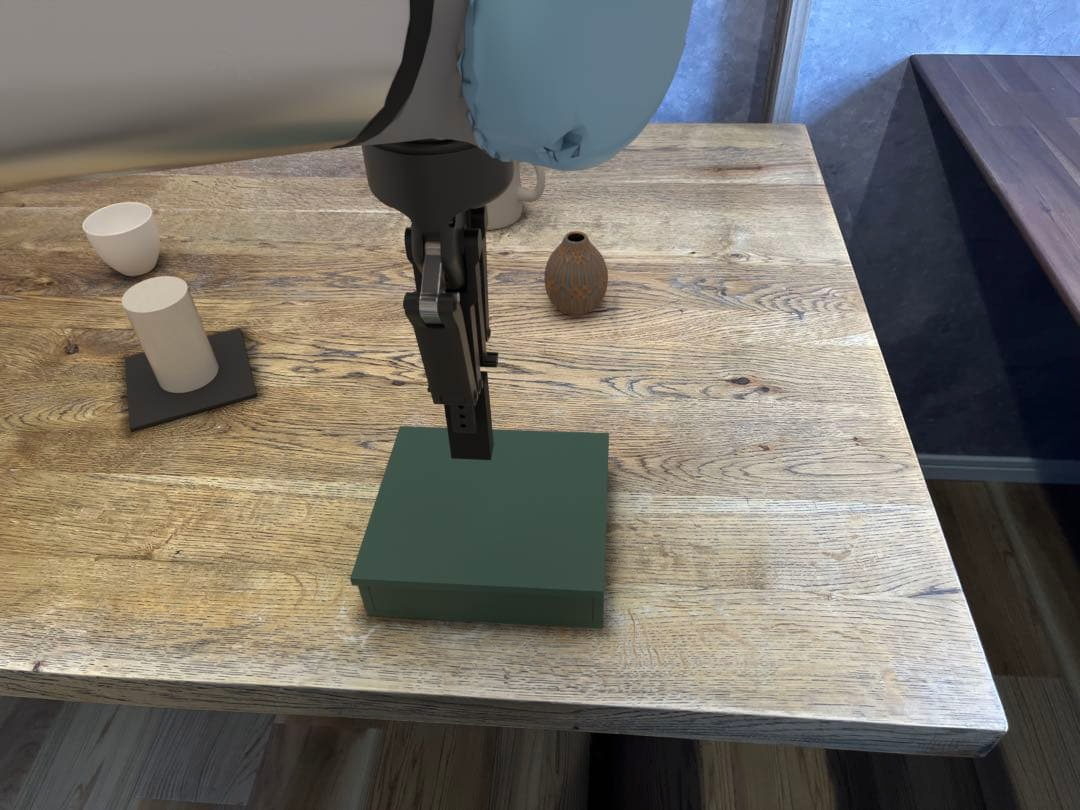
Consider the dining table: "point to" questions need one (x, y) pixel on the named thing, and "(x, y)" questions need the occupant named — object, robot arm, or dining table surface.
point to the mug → (514, 199)
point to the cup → (125, 237)
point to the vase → (576, 275)
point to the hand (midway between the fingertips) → (472, 451)
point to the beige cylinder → (171, 333)
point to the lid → (491, 515)
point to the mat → (162, 406)
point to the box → (483, 606)
